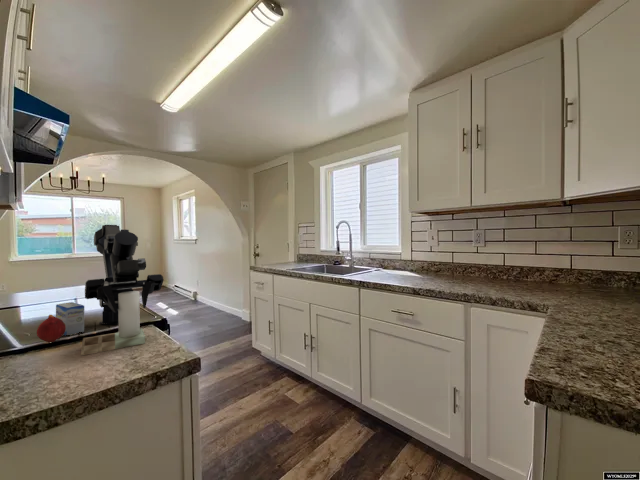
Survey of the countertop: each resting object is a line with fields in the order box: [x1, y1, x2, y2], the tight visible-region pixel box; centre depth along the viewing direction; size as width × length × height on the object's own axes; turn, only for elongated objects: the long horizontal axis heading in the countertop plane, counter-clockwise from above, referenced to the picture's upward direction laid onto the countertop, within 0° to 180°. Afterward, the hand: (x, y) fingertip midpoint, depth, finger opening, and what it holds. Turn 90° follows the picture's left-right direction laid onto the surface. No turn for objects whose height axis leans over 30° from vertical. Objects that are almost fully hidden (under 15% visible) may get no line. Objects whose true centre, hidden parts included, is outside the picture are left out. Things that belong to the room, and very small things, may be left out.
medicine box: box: [55, 301, 85, 336], centre depth 85 cm, size 8×4×9 cm, turn 62°
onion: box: [36, 314, 66, 344], centre depth 77 cm, size 6×6×8 cm
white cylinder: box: [118, 290, 141, 338], centre depth 78 cm, size 5×5×12 cm
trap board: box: [80, 327, 146, 356], centre depth 76 cm, size 14×8×2 cm, turn 128°
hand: (130, 309), depth 77 cm, fingers open, 7 cm apart
